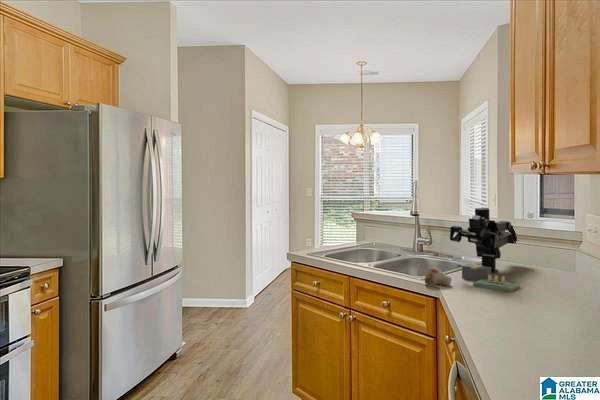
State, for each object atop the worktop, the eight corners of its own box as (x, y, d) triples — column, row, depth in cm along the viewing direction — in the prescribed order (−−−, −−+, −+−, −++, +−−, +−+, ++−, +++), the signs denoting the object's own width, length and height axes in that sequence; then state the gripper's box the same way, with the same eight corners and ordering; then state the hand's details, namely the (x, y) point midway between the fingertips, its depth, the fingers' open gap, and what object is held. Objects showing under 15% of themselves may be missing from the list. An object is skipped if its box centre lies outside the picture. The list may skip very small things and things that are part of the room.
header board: (482, 281, 183) (482, 271, 183) (519, 287, 173) (519, 276, 173) (473, 285, 177) (473, 275, 176) (511, 292, 167) (511, 280, 167)
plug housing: (467, 275, 194) (467, 264, 193) (491, 279, 187) (491, 267, 186) (461, 277, 190) (462, 265, 190) (486, 281, 183) (486, 269, 183)
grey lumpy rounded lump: (452, 289, 173) (438, 266, 173) (430, 296, 179) (417, 274, 179) (456, 280, 180) (443, 258, 179) (435, 287, 185) (422, 266, 185)
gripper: (460, 211, 199) (443, 217, 188) (504, 218, 186) (489, 225, 175) (458, 236, 201) (441, 243, 190) (501, 244, 189) (487, 253, 177)
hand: (464, 241), depth 183 cm, fingers open, 9 cm apart
